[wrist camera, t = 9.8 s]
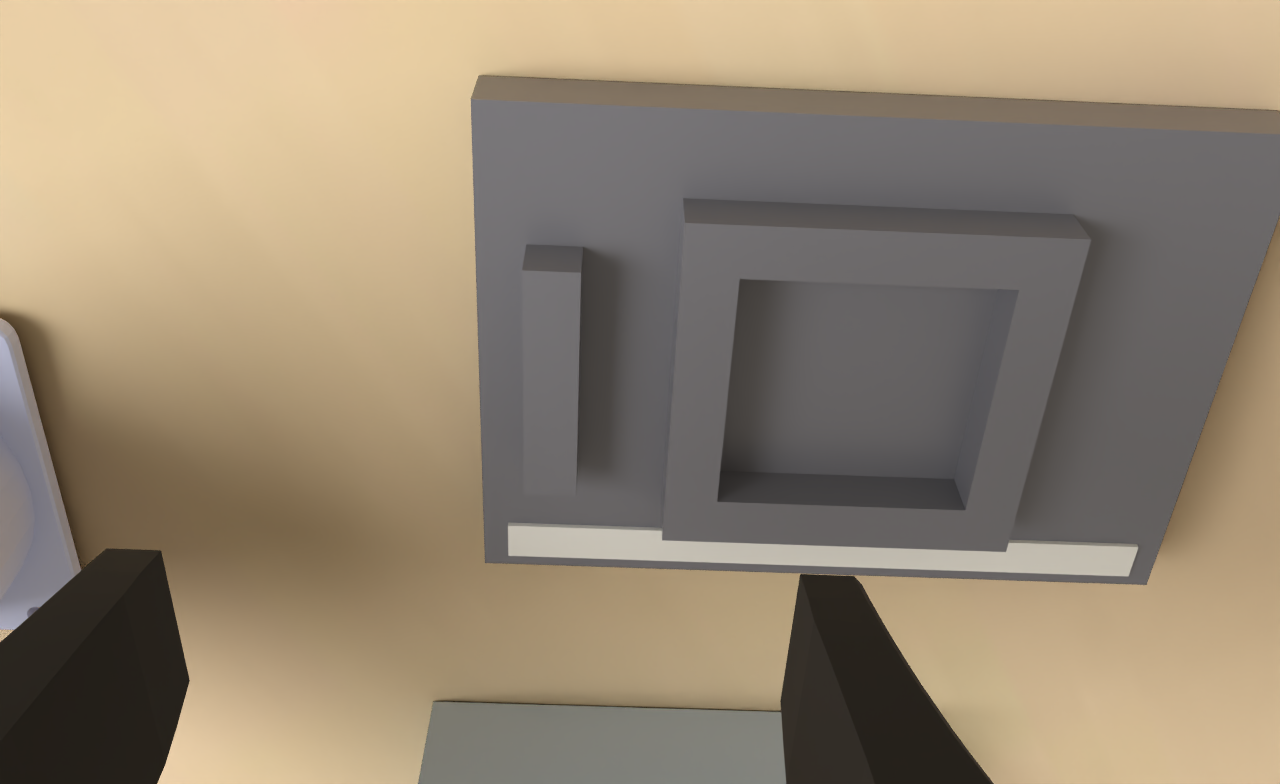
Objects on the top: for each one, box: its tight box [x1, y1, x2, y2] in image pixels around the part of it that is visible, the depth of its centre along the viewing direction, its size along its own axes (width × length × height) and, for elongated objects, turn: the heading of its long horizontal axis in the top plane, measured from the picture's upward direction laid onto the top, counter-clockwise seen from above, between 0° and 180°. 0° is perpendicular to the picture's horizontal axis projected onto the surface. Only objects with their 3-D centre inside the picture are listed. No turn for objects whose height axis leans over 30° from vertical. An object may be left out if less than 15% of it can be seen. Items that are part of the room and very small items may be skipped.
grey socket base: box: [471, 76, 1280, 585], centre depth 23 cm, size 14×10×2 cm
